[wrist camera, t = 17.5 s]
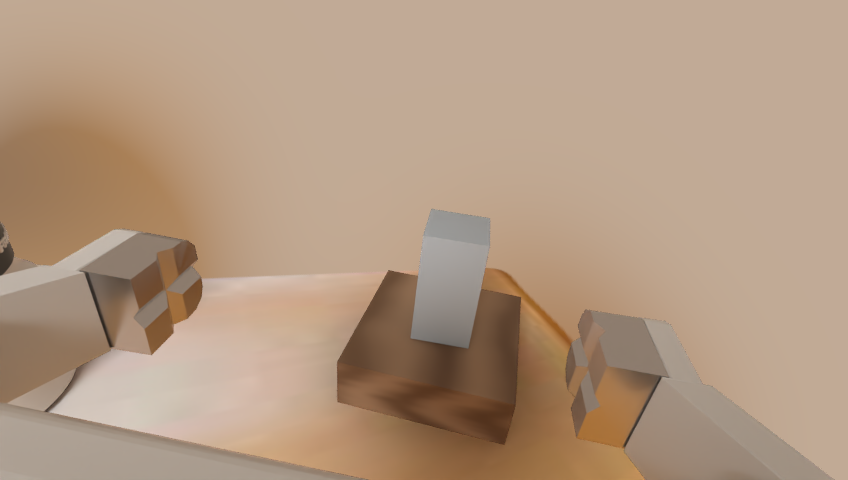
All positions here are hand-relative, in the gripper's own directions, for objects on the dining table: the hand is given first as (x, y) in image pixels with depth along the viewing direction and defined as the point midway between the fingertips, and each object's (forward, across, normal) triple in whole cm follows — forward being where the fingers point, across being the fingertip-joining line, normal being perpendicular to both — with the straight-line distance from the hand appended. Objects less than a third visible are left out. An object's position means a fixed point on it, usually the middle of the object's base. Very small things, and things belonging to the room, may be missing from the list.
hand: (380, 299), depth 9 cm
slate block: (+24, -1, +20) cm, 31 cm away
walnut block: (+23, -1, +25) cm, 34 cm away
